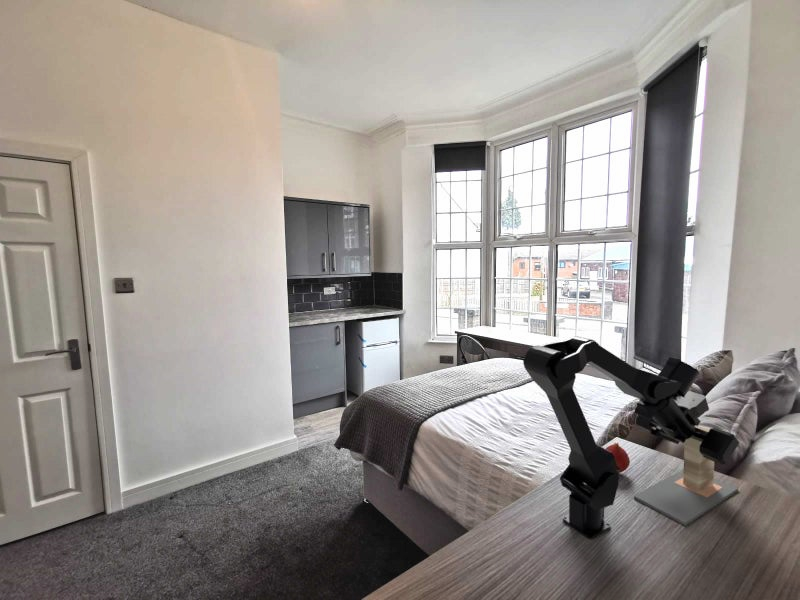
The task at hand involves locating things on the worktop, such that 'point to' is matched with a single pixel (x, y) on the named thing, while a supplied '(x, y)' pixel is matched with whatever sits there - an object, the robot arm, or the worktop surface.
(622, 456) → the onion
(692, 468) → the cream block
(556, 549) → the worktop surface
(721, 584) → the worktop surface
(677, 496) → the mat
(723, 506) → the worktop surface
